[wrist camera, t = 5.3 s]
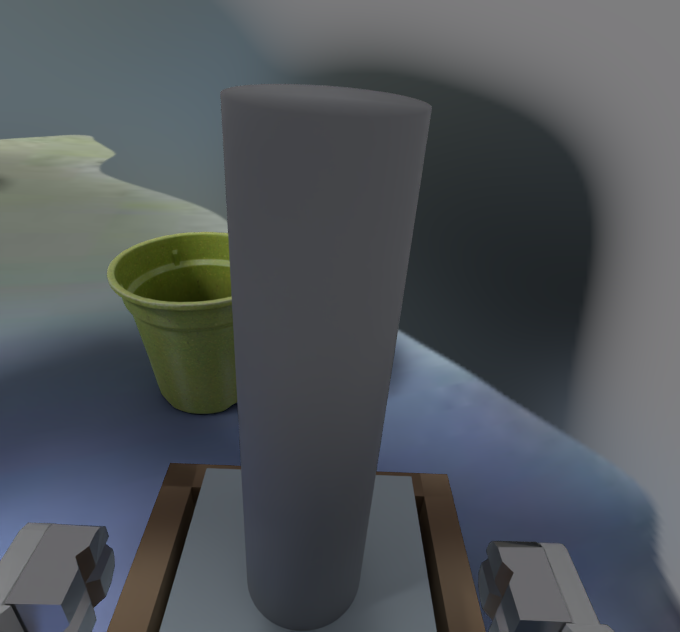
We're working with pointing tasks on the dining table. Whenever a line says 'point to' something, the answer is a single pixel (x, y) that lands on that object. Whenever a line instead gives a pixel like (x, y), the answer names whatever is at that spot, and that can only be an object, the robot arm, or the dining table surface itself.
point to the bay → (186, 479)
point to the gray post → (312, 372)
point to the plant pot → (183, 315)
